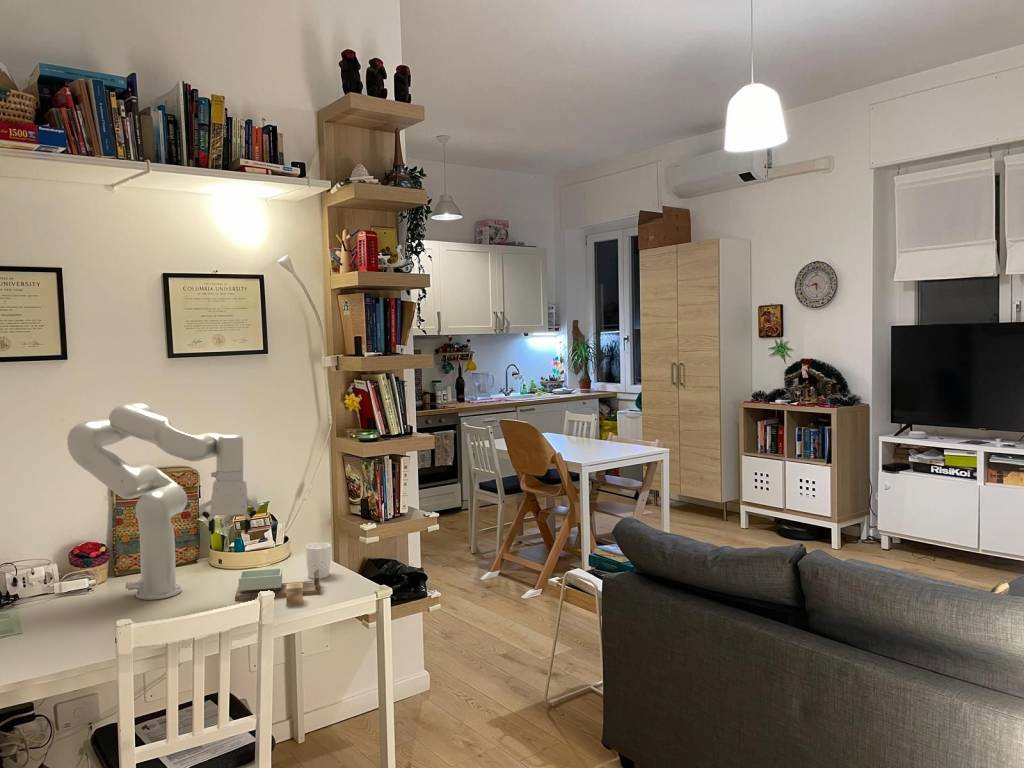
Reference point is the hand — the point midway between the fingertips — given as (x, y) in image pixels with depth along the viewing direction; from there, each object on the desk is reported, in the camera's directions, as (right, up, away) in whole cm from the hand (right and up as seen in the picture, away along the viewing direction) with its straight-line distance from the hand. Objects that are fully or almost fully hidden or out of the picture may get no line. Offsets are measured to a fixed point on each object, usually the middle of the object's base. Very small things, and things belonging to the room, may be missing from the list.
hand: (229, 532), depth 231 cm
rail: (+14, -19, +4) cm, 23 cm away
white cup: (+22, -18, +20) cm, 35 cm away
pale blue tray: (+9, -17, +2) cm, 20 cm away
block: (+21, -19, -6) cm, 29 cm away
